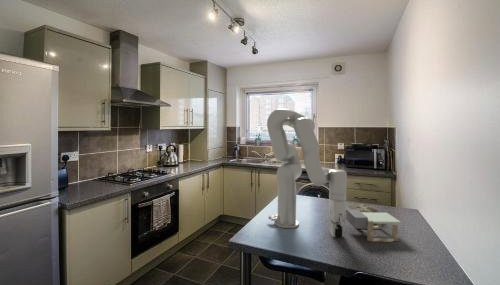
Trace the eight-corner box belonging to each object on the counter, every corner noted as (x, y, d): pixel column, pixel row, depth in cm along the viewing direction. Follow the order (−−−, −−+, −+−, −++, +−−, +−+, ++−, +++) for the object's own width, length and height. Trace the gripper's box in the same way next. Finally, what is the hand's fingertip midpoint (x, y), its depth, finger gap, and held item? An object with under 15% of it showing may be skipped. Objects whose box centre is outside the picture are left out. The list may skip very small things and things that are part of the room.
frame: (368, 241, 112) (368, 221, 112) (354, 227, 127) (355, 210, 127) (397, 241, 112) (398, 221, 111) (380, 227, 127) (381, 210, 127)
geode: (349, 221, 149) (350, 226, 135) (343, 206, 151) (344, 209, 137) (378, 214, 145) (383, 218, 131) (372, 198, 147) (376, 200, 133)
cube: (332, 236, 117) (333, 224, 116) (329, 232, 122) (329, 220, 121) (343, 237, 116) (343, 224, 116) (339, 232, 121) (340, 220, 121)
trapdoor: (355, 228, 114) (355, 217, 113) (345, 218, 126) (346, 209, 125) (400, 229, 113) (401, 218, 113) (386, 219, 125) (387, 209, 125)
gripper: (324, 191, 126) (323, 226, 128) (335, 201, 109) (334, 242, 110) (339, 191, 126) (338, 226, 127) (352, 201, 109) (351, 242, 110)
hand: (336, 233), depth 119 cm, fingers open, 5 cm apart
